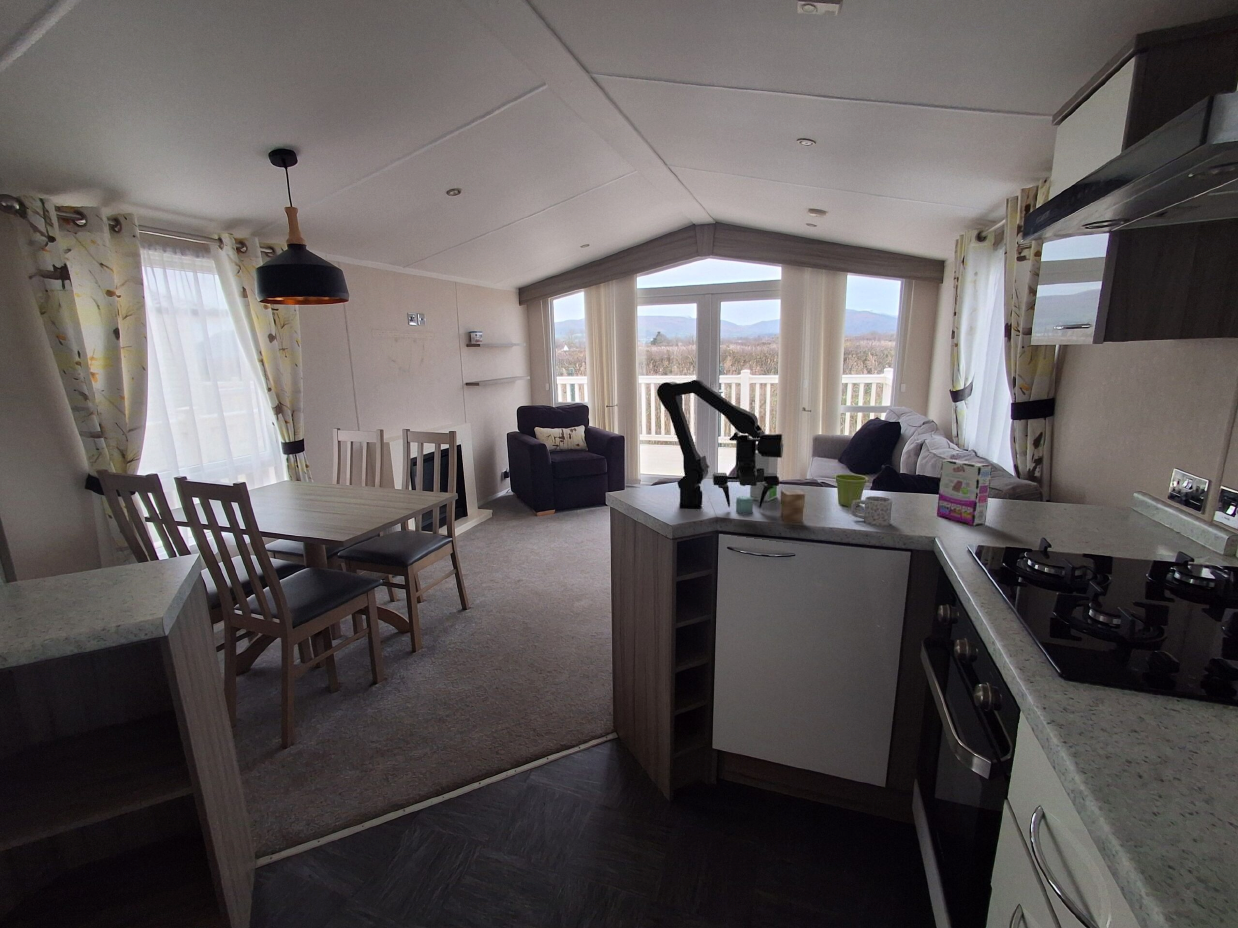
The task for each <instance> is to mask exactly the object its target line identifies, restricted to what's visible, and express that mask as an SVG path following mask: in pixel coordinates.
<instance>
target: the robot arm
mask: <svg viewBox="0 0 1238 928" xmlns="http://www.w3.org/2000/svg"><path fill="white" fill-rule="evenodd" d="M656 394H657V397H658V399H659V401H660V403H661V405H662V406H663V408H664V409H665V410H666V411H667V413H668V414H669V417H670V421H671V423H672V426H673V430H674V432H675V433H674V434H675V435H676V439H677V441H678V443H679V444H678V445H679V448H680V450H681V451H680V452H681V454H682V456H683V457H682V458H683V465H682V466H683V468H682V469H683V473H684V476H683V477H681V478H680V479H679V480H678V481H677V486H678V487H677V488H678V489H679V508H680V509H701V508H702V505H703V490H702V489H701V485H702V482H703V481H704V480H705V479H706V478H707V477H708V475H709V469H710V465H708V462H707V458H706V457H707V456H706V455H705V454H704V455H703V456H701V454H699V453H698V450H697V448H696V444H695V442H694V439H693V435H692V433H691V430H690V427H689V424H688V421H687V417H686V414H685V412H684V408H683V407H684V406H683V405H684V404H683V402H684V399H683V396H684V395H690V394H694V395H695V396H697V397H698V398H700V399H701V400H702V401H704V402H705V403H706V404H707V405H709V406H710V407H712V408H713V409H715V410H716V411H717V412H719V413H720V414H721V415H723V416H724V417H725V419H726V420H727V421H728V422H729V423H730V425H732V426H733V428H734V429H735V430H736V431H735V432H734V433H733V435H732V436H730V437H729V439H728V440H729V441H731V442H732V441H733V442H735V471H734V472H735V473H734V474H735V475H728V474H727V472H714V473H713V474H712V484H713V486H717V488H718V489H722V491H723V494H724V497H725V500H726V503H727V506H728V508H730V507H731V499H730V498H731V497H730V486H729V484H728V483H739V485H740V486H741V487H745V486H750V485H752V486H756V485H757V482H762V483H761V485H760V494H759V500H758V508H759V509H760V508H761V507H762V505H763V503H764V501H763V500H764V498H765V496H766V494H767V492H768V491H769V490H770V489H773V488H774V486H777V487H779V486H780V478H779V476H778V474H777V475H776V474H775V473H764V468H757V469H756V451H758V453H759V454H761V456H762V457H776V458H778V459H779V458H780V459H781V458H783V453H784V442H783V433H774V434H773V433H765V431H764V430H763V428H762V427H761V426H760V424H759V418H758V417H757V415H756V414H755V413H753V412H751V411H749V410H746V409H744V408H742V407H739V406H737V405H735V404H733V403H732V402H730V400H728V399H726V398H724V396H722V395H720V394H719V393H718V392H716V391H715V390H713V389H712V388H711V387H710V386H708V385H706V384H705V383H704V382H703V381H702V380H701V379H692V380H690V381H686V382H679V383H678V382H676V381H665V382H662V383H661V384H659V386H658V387H657V390H656Z"/></svg>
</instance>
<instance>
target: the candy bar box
mask: <svg viewBox="0 0 1238 928" xmlns="http://www.w3.org/2000/svg"><path fill="white" fill-rule="evenodd" d="M992 469H993V464H988V463H982V462H976V461H975V462H974V461H969V460H962V459H957V458H948V459H942V460H941V467H940V478H939V479H940V481H939V489H938V498H937V499H938V500H937V501H938V502H937V507H936V508H937V509H936V516H937V517H940V518H943V519H947V520H951V521H954V522H958V523H962V524H965V525H969V526H973V527H974V526H982V525H985V524H986V520H987V513H988V512H987V511H988V502H989V494H990V493H989V492H990V486H991V477H992Z"/></svg>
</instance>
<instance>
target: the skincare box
mask: <svg viewBox="0 0 1238 928" xmlns="http://www.w3.org/2000/svg"><path fill="white" fill-rule="evenodd" d="M778 462H779V458H776V457H762V456H761V454H759V453H758V450H756V469H757V468H764V473H775V474H776V475H777V476H778V469H779V468H778V466H779V463H778ZM761 483H762V482H757V485H756V486H752V485H749V487H750V488H749V497H751V498H753V501H754V500H755V501H759V494H760V485H761ZM777 495H778V486H774V488H773V489H770V490H769V491H768V492H767V494H766V496H765V498H764V500H763V502H769V501H772V500H773V499H776V498H777V497H778V496H777Z"/></svg>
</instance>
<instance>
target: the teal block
mask: <svg viewBox="0 0 1238 928" xmlns="http://www.w3.org/2000/svg"><path fill="white" fill-rule="evenodd" d="M735 501H736V503H735V508H736V509H735V512H736V513H740V514H752V513H753V509H754V500H753V498H751V497H750V496H746V495H745V496H737V497H736V500H735Z"/></svg>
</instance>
